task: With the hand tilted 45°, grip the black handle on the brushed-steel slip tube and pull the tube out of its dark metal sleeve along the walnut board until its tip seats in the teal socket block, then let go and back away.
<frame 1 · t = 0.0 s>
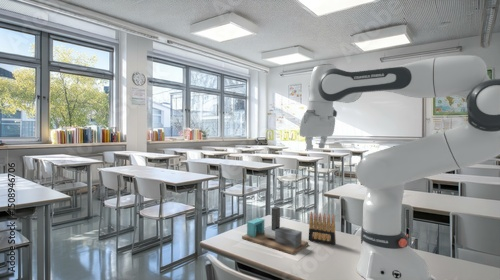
hand: (315, 148, 107), 39 cm above the table, tool pointing down, fingers open, 8 cm apart
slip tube: (281, 224, 117), point 8 cm above the table, slide at 0.0 cm
socket block: (255, 236, 126), resting on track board
ammunition clip: (321, 242, 119), on the table
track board: (274, 241, 120), on the table
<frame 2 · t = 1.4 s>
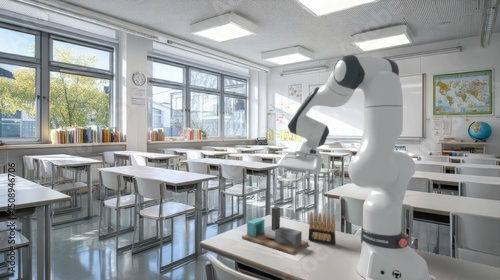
hand: (292, 178, 129), 24 cm above the table, tool tilted 45°, fingers open, 8 cm apart
nothing on the table moved.
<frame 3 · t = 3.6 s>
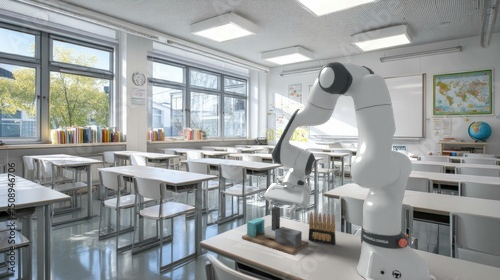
hand: (279, 212, 121), 12 cm above the table, tool tilted 45°, fingers open, 8 cm apart
nothing on the table moved.
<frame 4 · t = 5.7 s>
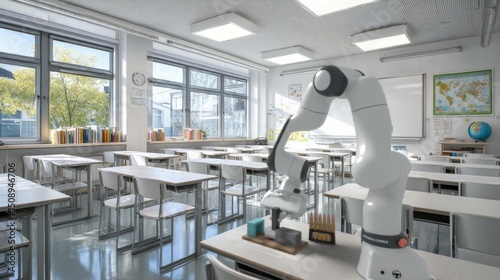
hand: (274, 220, 118), 9 cm above the table, tool tilted 45°, fingers closed on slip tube, 2 cm apart
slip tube: (281, 224, 117), point 8 cm above the table, slide at 0.0 cm, touching gripper
everything else where it was.
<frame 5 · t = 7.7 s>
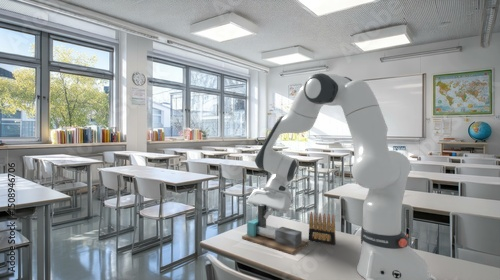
hand: (260, 217, 123), 9 cm above the table, tool tilted 45°, fingers closed
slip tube: (267, 220, 122), point 8 cm above the table, slide at 7.0 cm, touching gripper
everything else where it was.
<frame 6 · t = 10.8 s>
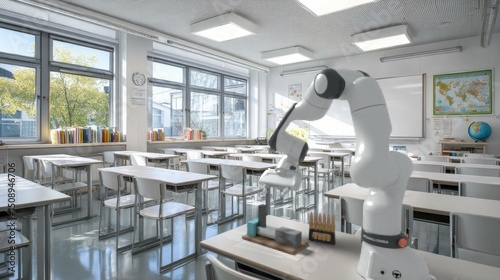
hand: (272, 194, 130), 17 cm above the table, tool tilted 45°, fingers open, 8 cm apart
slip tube: (267, 220, 122), point 8 cm above the table, slide at 6.9 cm
everything else where it was.
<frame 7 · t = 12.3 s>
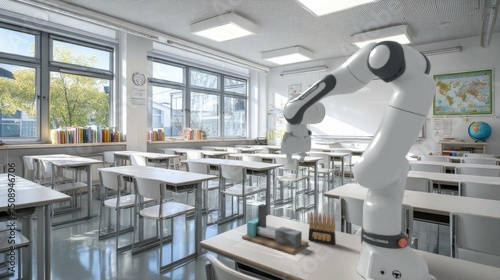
hand: (296, 163, 129), 31 cm above the table, tool pointing down, fingers open, 8 cm apart
nothing on the table moved.
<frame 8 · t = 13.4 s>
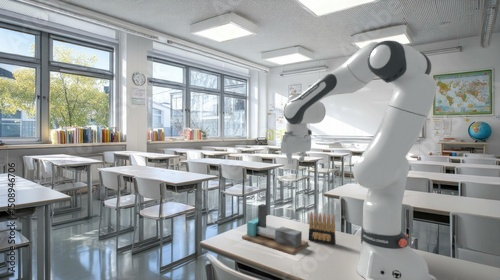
hand: (296, 162, 129), 31 cm above the table, tool pointing down, fingers open, 8 cm apart
nothing on the table moved.
at the end: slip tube slide at 6.9 cm; the gripper is holding nothing; ammunition clip moved 0.3 cm from its start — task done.
